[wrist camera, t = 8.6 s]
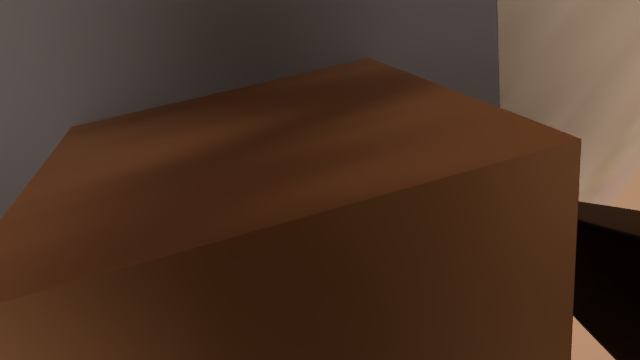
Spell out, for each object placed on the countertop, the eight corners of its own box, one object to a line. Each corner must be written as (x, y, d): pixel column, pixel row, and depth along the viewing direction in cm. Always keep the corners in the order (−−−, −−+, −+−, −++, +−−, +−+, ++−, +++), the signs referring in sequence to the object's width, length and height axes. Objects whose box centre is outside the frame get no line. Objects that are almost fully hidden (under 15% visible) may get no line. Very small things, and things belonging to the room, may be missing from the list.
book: (400, -189, 12) (491, -260, 9) (443, 314, 19) (506, 392, 15) (-130, -116, 10) (-296, -170, 7) (122, 421, 17) (107, 540, 13)
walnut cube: (369, 58, 10) (580, 138, 5) (400, 290, 13) (563, 516, 7) (71, 126, 9) (-81, 325, 4) (165, 365, 12) (155, 692, 6)
